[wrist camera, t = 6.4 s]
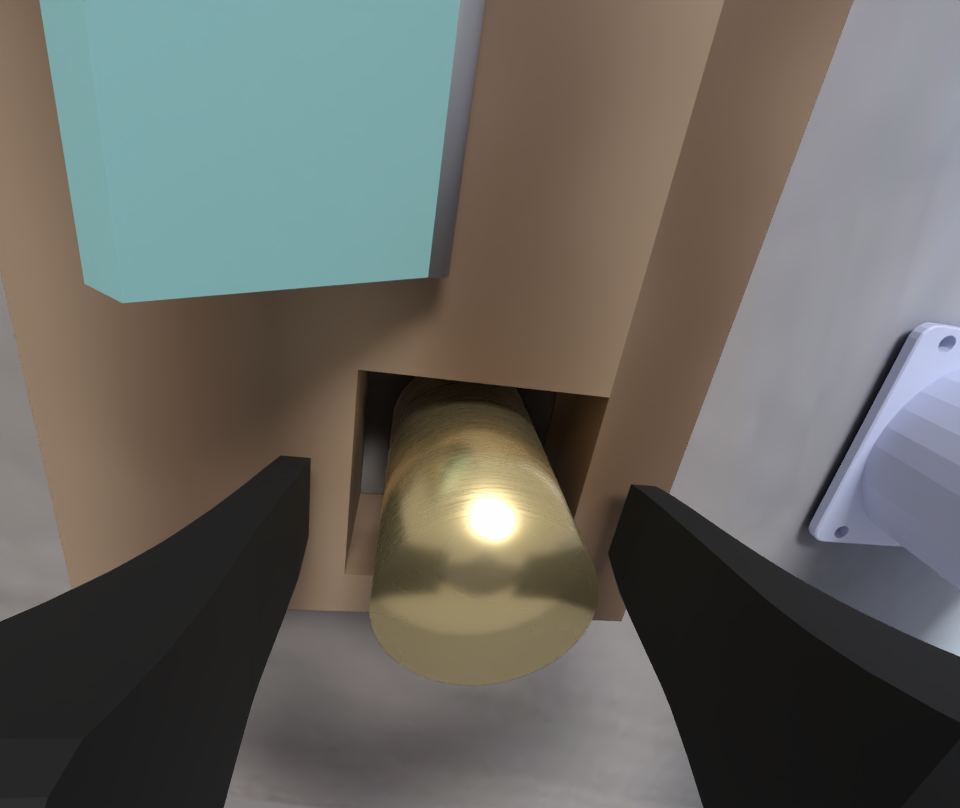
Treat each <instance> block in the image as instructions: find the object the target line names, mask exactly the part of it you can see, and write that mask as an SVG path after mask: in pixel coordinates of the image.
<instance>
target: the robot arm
mask: <svg viewBox="0 0 960 808" xmlns="http://www.w3.org/2000/svg"><path fill="white" fill-rule="evenodd" d="M942 339H943V340H942ZM941 341H942V342H941ZM940 342H941V343H940ZM939 343H940V344H939ZM310 471H311V458H306V457H294V456H282V455H281V456H279V457H278V458H277V459H275V460H274V461H273V462H271V463H270V464H269V465H267V466H266V467H265V468H264V469H262V470H261V471H260V472H259V473H257V474H256V475H255V476H254V477H252V478H251V479H250V480H249V481H247V482H246V483H245V484H244V485H242V486H241V487H240V488H239V489H237V490H236V491H235V492H233V493H232V494H231V495H229V496H228V497H227V498H225V499H224V500H223V501H221V502H220V503H219V504H217V505H216V506H215V507H213V508H212V509H211V510H209V511H208V512H206V513H205V514H203V515H202V516H200V517H199V518H197V519H196V520H194V521H193V522H192V523H190V524H189V525H187V526H186V527H184V528H183V529H181V530H180V531H178V532H177V533H175V534H174V535H172V536H170V537H169V538H167V539H166V540H164V541H162V542H161V543H159V544H157V545H156V546H154V547H152V548H151V549H149V550H147V551H145V552H144V553H142V554H140V555H138V556H136V557H135V558H133V559H131V560H129V561H128V562H126V563H124V564H122V565H120V566H118V567H117V568H115V569H113V570H111V571H109V572H107V573H105V574H103V575H101V576H99V577H97V578H95V579H92V580H90V581H88V582H86V583H84V584H82V585H80V586H78V587H76V588H74V589H72V590H70V591H68V592H66V593H64V594H61V595H59V596H57V597H55V598H53V599H51V600H49V601H47V602H45V603H42V604H40V605H38V606H36V607H33V608H31V609H29V610H26V611H24V612H22V613H19V614H17V615H15V616H12V617H10V618H8V619H5V620H3V621H1V622H0V808H223V807H224V804H225V800H226V797H227V793H228V789H229V785H230V782H231V778H232V774H233V770H234V766H235V763H236V759H237V755H238V752H239V748H240V745H241V741H242V737H243V734H244V730H245V727H246V723H247V719H248V716H249V712H250V709H251V705H252V702H253V699H254V696H255V693H256V690H257V687H258V684H259V681H260V679H261V676H262V673H263V671H264V668H265V665H266V663H267V660H268V658H269V655H270V652H271V650H272V647H273V645H274V642H275V639H276V637H277V634H278V631H279V629H280V626H281V624H282V621H283V618H284V616H285V613H286V610H287V608H288V605H289V602H290V600H291V597H292V594H293V592H294V589H295V586H296V584H297V581H298V578H299V574H300V570H301V566H302V562H303V558H304V554H305V550H306V546H307V541H308V537H309V509H310ZM809 532H810V533H811V534H812V535H813V536H814V537H815V538H816V539H817V540H819V541H823V542H838V543H853V544H868V545H883V546H898V547H904V548H905V549H907V550H908V551H909V552H911V553H912V554H913V555H914V556H916V557H917V558H918V559H920V560H921V561H922V562H923V563H925V564H926V565H927V566H929V567H930V568H931V569H932V570H934V571H935V572H936V573H938V574H939V575H940V576H941V577H943V578H944V579H945V580H947V581H948V582H949V583H950V584H952V585H953V586H954V587H956V588H957V589H958V590H959V591H960V327H958V326H951V325H945V324H938V323H931V322H930V323H924V324H921V325H919V326H917V327H916V328H915V329H914V330H913V331H912V332H911V333H910V335H909V336H908V338H907V340H906V342H905V344H904V345H903V347H902V349H901V351H900V353H899V355H898V357H897V359H896V361H895V363H894V365H893V366H892V368H891V370H890V372H889V374H888V376H887V378H886V380H885V382H884V384H883V385H882V387H881V389H880V391H879V393H878V395H877V397H876V399H875V401H874V403H873V404H872V406H871V408H870V410H869V412H868V414H867V416H866V418H865V420H864V422H863V423H862V425H861V427H860V429H859V431H858V433H857V435H856V437H855V439H854V441H853V443H852V444H851V446H850V448H849V450H848V452H847V454H846V456H845V458H844V460H843V462H842V463H841V465H840V467H839V469H838V471H837V473H836V475H835V477H834V479H833V481H832V482H831V484H830V486H829V488H828V490H827V492H826V494H825V496H824V498H823V500H822V501H821V503H820V505H819V507H818V509H817V511H816V513H815V515H814V517H813V519H812V521H811V522H810V525H809ZM608 555H609V559H610V563H611V566H612V570H613V574H614V577H615V580H616V583H617V586H618V590H619V593H620V595H621V597H622V600H623V602H624V604H625V607H626V609H627V611H628V613H629V616H630V618H631V620H632V622H633V625H634V627H635V629H636V631H637V633H638V636H639V638H640V640H641V642H642V644H643V646H644V649H645V651H646V653H647V655H648V657H649V659H650V662H651V664H652V666H653V668H654V670H655V673H656V675H657V677H658V679H659V681H660V683H661V686H662V688H663V691H664V693H665V695H666V698H667V700H668V703H669V705H670V708H671V710H672V713H673V716H674V719H675V722H676V725H677V728H678V731H679V733H680V736H681V739H682V742H683V745H684V748H685V751H686V754H687V757H688V760H689V763H690V766H691V769H692V773H693V776H694V779H695V782H696V785H697V788H698V792H699V795H700V798H701V801H702V804H703V808H960V657H959V656H957V655H954V654H952V653H949V652H947V651H944V650H942V649H940V648H937V647H935V646H933V645H930V644H928V643H926V642H923V641H921V640H919V639H917V638H914V637H912V636H910V635H908V634H905V633H903V632H901V631H899V630H897V629H895V628H893V627H891V626H888V625H886V624H884V623H882V622H880V621H878V620H876V619H874V618H872V617H870V616H867V615H865V614H863V613H861V612H859V611H857V610H855V609H853V608H851V607H850V606H848V605H846V604H844V603H842V602H840V601H838V600H836V599H834V598H833V597H831V596H829V595H827V594H825V593H823V592H822V591H820V590H818V589H816V588H814V587H812V586H811V585H809V584H807V583H805V582H803V581H802V580H800V579H798V578H797V577H795V576H793V575H792V574H790V573H788V572H787V571H785V570H783V569H782V568H780V567H778V566H777V565H775V564H774V563H772V562H771V561H769V560H767V559H766V558H764V557H763V556H761V555H759V554H758V553H756V552H755V551H753V550H752V549H750V548H749V547H747V546H746V545H744V544H742V543H741V542H740V541H738V540H737V539H735V538H734V537H732V536H731V535H729V534H728V533H726V532H725V531H723V530H722V529H720V528H719V527H717V526H716V525H715V524H713V523H712V522H710V521H709V520H707V519H706V518H704V517H703V516H701V515H700V514H699V513H697V512H696V511H694V510H693V509H691V508H690V507H688V506H687V505H685V504H684V503H682V502H681V501H679V500H678V499H676V498H675V497H673V496H672V495H670V494H668V493H667V492H665V491H663V490H662V489H660V488H658V487H656V486H648V485H636V484H631V486H630V489H629V492H628V495H627V498H626V501H625V504H624V507H623V510H622V513H621V516H620V519H619V522H618V525H617V528H616V531H615V534H614V537H613V540H612V543H611V546H610V548H609V551H608Z"/></svg>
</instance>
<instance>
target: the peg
mask: <svg viewBox="0 0 960 808" xmlns="http://www.w3.org/2000/svg"><path fill="white" fill-rule="evenodd" d="M598 596H599V583H598V577H597V573H596V569H595V567H594V565H593V562H592V560H591V558H590V555H589V553H588V551H587V548H586V546H585V544H584V541H583V539H582V537H581V535H580V532H579V530H578V528H577V525H576V523H575V521H574V518H573V516H572V514H571V511H570V509H569V507H568V505H567V502H566V500H565V498H564V495H563V493H562V491H561V488H560V486H559V484H558V482H557V479H556V477H555V475H554V472H553V470H552V468H551V465H550V463H549V461H548V458H547V456H546V454H545V452H544V449H543V447H542V445H541V442H540V440H539V438H538V435H537V433H536V431H535V428H534V426H533V424H532V422H531V419H530V417H529V415H528V412H527V410H526V408H525V405H524V403H523V401H522V399H521V396H520V394H519V392H518V391H517V389H516V388H515V387H510V386H501V385H492V384H483V383H474V382H465V381H456V380H447V379H438V378H429V377H420V376H416V377H415V378H414V379H413V380H412V381H411V382H410V383H409V384H408V385H407V386H406V387H405V389H404V390H403V391H402V393H401V394H400V396H399V398H398V400H397V403H396V406H395V408H394V413H393V420H392V428H391V436H390V444H389V452H388V460H387V468H386V476H385V484H384V492H383V499H382V507H381V515H380V523H379V531H378V539H377V547H376V555H375V563H374V571H373V579H372V587H371V595H370V610H369V614H370V620H371V626H372V628H373V631H374V634H375V636H376V638H377V640H378V642H379V643H380V645H381V646H382V648H383V649H384V650H385V651H386V652H387V654H388V655H389V656H390V657H392V658H393V659H394V660H395V661H396V662H397V663H399V664H400V665H402V666H403V667H404V668H406V669H408V670H410V671H412V672H414V673H415V674H417V675H420V676H423V677H425V678H428V679H431V680H435V681H439V682H443V683H449V684H457V685H485V684H494V683H500V682H505V681H509V680H513V679H516V678H519V677H523V676H525V675H528V674H530V673H533V672H535V671H537V670H539V669H541V668H543V667H545V666H547V665H549V664H550V663H552V662H553V661H555V660H557V659H558V658H559V657H561V656H562V655H563V654H564V653H566V652H567V651H568V650H569V649H570V648H571V647H572V646H573V645H574V644H575V643H576V642H577V641H578V640H579V639H580V637H581V636H582V635H583V634H584V632H585V631H586V629H587V628H588V626H589V624H590V623H591V620H592V618H593V616H594V614H595V611H596V607H597V603H598Z"/></svg>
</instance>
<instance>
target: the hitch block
mask: <svg viewBox="0 0 960 808" xmlns="http://www.w3.org/2000/svg"><path fill="white" fill-rule="evenodd" d="M853 1H854V0H485V8H484V15H483V23H482V30H481V38H480V45H479V53H478V60H477V68H476V75H475V83H474V90H473V98H472V105H471V113H470V120H469V128H468V135H467V143H466V150H465V158H464V165H463V173H462V180H461V188H460V196H459V203H458V211H457V218H456V226H455V233H454V241H453V248H452V256H451V263H450V271H449V276H448V277H445V278H429V277H427V278H415V279H403V280H391V281H379V282H367V283H355V284H344V285H332V286H320V287H308V288H296V289H284V290H272V291H261V292H249V293H237V294H225V295H213V296H201V297H189V298H178V299H166V300H154V301H142V302H130V303H121V302H119V301H117V300H115V299H113V298H111V297H109V296H107V295H105V294H103V293H102V292H100V291H98V290H96V289H94V288H92V287H90V286H88V285H86V284H84V278H83V271H82V265H81V259H80V253H79V246H78V240H77V234H76V227H75V221H74V215H73V209H72V202H71V196H70V190H69V183H68V177H67V171H66V165H65V158H64V152H63V146H62V139H61V133H60V127H59V121H58V114H57V108H56V102H55V95H54V89H53V83H52V77H51V70H50V64H49V58H48V52H47V45H46V39H45V33H44V26H43V20H42V14H41V8H40V1H39V0H0V272H1V276H2V281H3V285H4V290H5V294H6V299H7V303H8V307H9V312H10V316H11V321H12V325H13V330H14V334H15V339H16V343H17V348H18V352H19V356H20V361H21V365H22V370H23V374H24V379H25V383H26V388H27V392H28V396H29V401H30V405H31V410H32V414H33V419H34V423H35V428H36V432H37V437H38V441H39V445H40V450H41V454H42V459H43V463H44V468H45V472H46V477H47V481H48V486H49V490H50V494H51V499H52V503H53V508H54V512H55V517H56V521H57V526H58V530H59V535H60V539H61V543H62V548H63V552H64V557H65V561H66V566H67V570H68V575H69V579H70V584H71V588H72V589H74V588H76V587H78V586H80V585H82V584H84V583H86V582H88V581H90V580H92V579H95V578H97V577H99V576H101V575H103V574H105V573H107V572H109V571H111V570H113V569H115V568H117V567H118V566H120V565H122V564H124V563H126V562H128V561H129V560H131V559H133V558H135V557H136V556H138V555H140V554H142V553H144V552H145V551H147V550H149V549H151V548H152V547H154V546H156V545H157V544H159V543H161V542H162V541H164V540H166V539H167V538H169V537H170V536H172V535H174V534H175V533H177V532H178V531H180V530H181V529H183V528H184V527H186V526H187V525H189V524H190V523H192V522H193V521H194V520H196V519H197V518H199V517H200V516H202V515H203V514H205V513H206V512H208V511H209V510H211V509H212V508H213V507H215V506H216V505H217V504H219V503H220V502H221V501H223V500H224V499H225V498H227V497H228V496H229V495H231V494H232V493H233V492H235V491H236V490H237V489H239V488H240V487H241V486H242V485H244V484H245V483H246V482H247V481H249V480H250V479H251V478H252V477H254V476H255V475H256V474H257V473H259V472H260V471H261V470H262V469H264V468H265V467H266V466H267V465H269V464H270V463H271V462H273V461H274V460H275V459H277V458H278V457H279V456H281V455H282V456H294V457H306V458H311V471H310V509H309V537H308V541H307V546H306V550H305V554H304V558H303V562H302V566H301V570H300V574H299V578H298V581H297V584H296V586H295V589H294V592H293V594H292V597H291V600H290V602H289V605H288V608H287V609H291V610H319V611H348V612H369V610H370V595H371V587H372V579H373V571H374V563H375V555H376V547H377V539H378V531H379V523H380V515H381V507H382V499H383V495H378V494H364V493H360V492H361V479H362V466H363V452H364V439H365V426H366V413H367V399H368V386H369V373H370V371H375V372H384V373H393V374H402V375H411V376H420V377H429V378H438V379H447V380H456V381H465V382H474V383H483V384H492V385H501V386H510V387H519V388H528V389H537V390H546V391H555V392H557V396H556V400H555V404H554V408H553V413H552V417H551V421H550V425H549V429H548V433H547V437H546V441H545V446H544V452H545V454H546V456H547V458H548V461H549V463H550V465H551V468H552V470H553V472H554V475H555V477H556V479H557V482H558V484H559V486H560V488H561V491H562V493H563V495H564V498H565V500H566V502H567V505H568V507H569V509H570V511H571V514H572V516H573V518H574V521H575V523H576V525H577V528H578V530H579V532H580V535H581V537H582V539H583V541H584V544H585V546H586V548H587V551H588V553H589V555H590V558H591V560H592V562H593V565H594V567H595V569H596V573H597V577H598V583H599V596H598V603H597V607H596V611H595V614H594V616H593V618H592V620H606V621H622V618H623V615H624V613H625V610H626V607H625V604H624V602H623V600H622V597H621V595H620V593H619V590H618V586H617V583H616V580H615V577H614V574H613V570H612V566H611V563H610V559H609V555H608V551H609V548H610V546H611V543H612V540H613V537H614V534H615V531H616V528H617V525H618V522H619V519H620V516H621V513H622V510H623V507H624V504H625V501H626V498H627V495H628V492H629V489H630V486H631V484H636V485H648V486H656V487H658V488H660V489H662V490H663V491H665V492H667V493H668V494H669V492H670V490H671V487H672V484H673V482H674V479H675V476H676V474H677V471H678V468H679V466H680V463H681V460H682V458H683V455H684V452H685V450H686V447H687V444H688V442H689V439H690V436H691V434H692V431H693V428H694V426H695V423H696V420H697V418H698V415H699V412H700V410H701V407H702V404H703V402H704V399H705V396H706V394H707V391H708V388H709V386H710V383H711V380H712V378H713V375H714V372H715V370H716V367H717V364H718V362H719V359H720V356H721V353H722V351H723V348H724V345H725V343H726V340H727V337H728V335H729V332H730V329H731V327H732V324H733V321H734V319H735V316H736V313H737V311H738V308H739V305H740V303H741V300H742V297H743V295H744V292H745V289H746V287H747V284H748V281H749V279H750V276H751V273H752V271H753V268H754V265H755V263H756V260H757V257H758V255H759V252H760V249H761V247H762V244H763V241H764V239H765V236H766V233H767V231H768V228H769V225H770V223H771V220H772V217H773V215H774V212H775V209H776V206H777V204H778V201H779V198H780V196H781V193H782V190H783V188H784V185H785V182H786V180H787V177H788V174H789V172H790V169H791V166H792V164H793V161H794V158H795V156H796V153H797V150H798V148H799V145H800V142H801V140H802V137H803V134H804V132H805V129H806V126H807V124H808V121H809V118H810V116H811V113H812V110H813V108H814V105H815V102H816V100H817V97H818V94H819V92H820V89H821V86H822V84H823V81H824V78H825V76H826V73H827V70H828V68H829V65H830V62H831V60H832V57H833V54H834V51H835V49H836V46H837V43H838V41H839V38H840V35H841V33H842V30H843V27H844V25H845V22H846V19H847V17H848V14H849V11H850V9H851V6H852V3H853Z"/></svg>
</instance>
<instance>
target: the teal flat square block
mask: <svg viewBox="0 0 960 808" xmlns="http://www.w3.org/2000/svg"><path fill="white" fill-rule="evenodd" d="M39 1H40V8H41V14H42V20H43V26H44V33H45V39H46V45H47V52H48V58H49V64H50V70H51V77H52V83H53V89H54V95H55V102H56V108H57V114H58V121H59V127H60V133H61V139H62V146H63V152H64V158H65V165H66V171H67V177H68V183H69V190H70V196H71V202H72V209H73V215H74V221H75V227H76V234H77V240H78V246H79V253H80V259H81V265H82V271H83V278H84V284H86V285H88V286H90V287H92V288H94V289H96V290H98V291H100V292H102V293H103V294H105V295H107V296H109V297H111V298H113V299H115V300H117V301H119V302H121V303H130V302H142V301H154V300H166V299H178V298H189V297H201V296H213V295H225V294H237V293H249V292H261V291H272V290H284V289H296V288H308V287H320V286H332V285H344V284H355V283H367V282H379V281H391V280H403V279H415V278H427V277H429V278H445V277H448V276H449V271H450V263H451V256H452V248H453V241H454V233H455V226H456V218H457V211H458V203H459V196H460V188H461V180H462V173H463V165H464V158H465V150H466V143H467V135H468V128H469V120H470V113H471V105H472V98H473V90H474V83H475V75H476V68H477V60H478V53H479V45H480V38H481V30H482V23H483V15H484V8H485V0H39Z"/></svg>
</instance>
